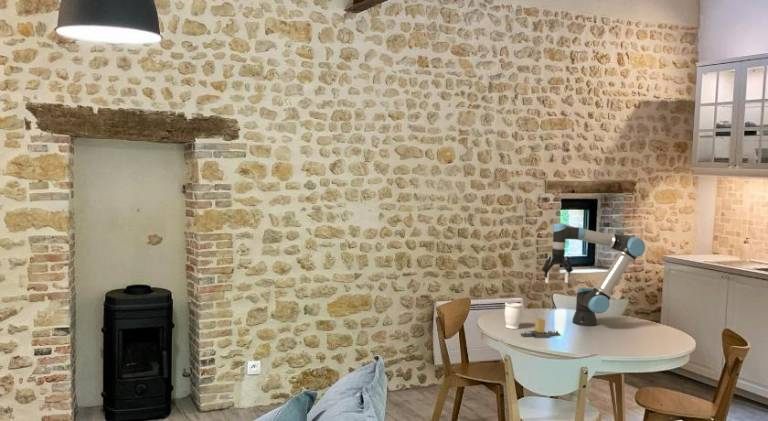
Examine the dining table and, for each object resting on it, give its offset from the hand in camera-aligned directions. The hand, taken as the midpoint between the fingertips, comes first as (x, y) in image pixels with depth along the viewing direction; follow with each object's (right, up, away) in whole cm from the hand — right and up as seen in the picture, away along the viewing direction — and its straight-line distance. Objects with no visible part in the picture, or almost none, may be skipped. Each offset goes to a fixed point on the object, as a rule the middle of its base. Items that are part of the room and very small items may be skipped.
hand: (556, 282), depth 415 cm
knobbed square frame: (-15, -29, -19) cm, 38 cm away
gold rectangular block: (-15, -30, -19) cm, 38 cm away
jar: (-28, -28, 0) cm, 39 cm away
